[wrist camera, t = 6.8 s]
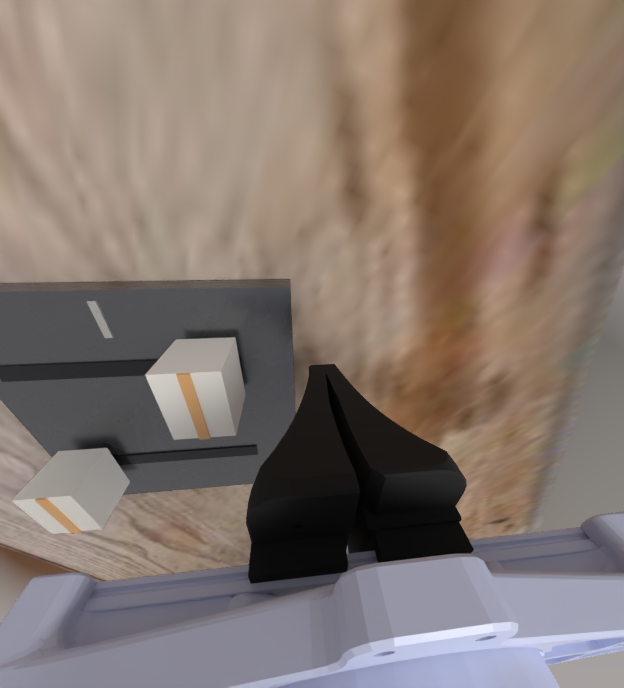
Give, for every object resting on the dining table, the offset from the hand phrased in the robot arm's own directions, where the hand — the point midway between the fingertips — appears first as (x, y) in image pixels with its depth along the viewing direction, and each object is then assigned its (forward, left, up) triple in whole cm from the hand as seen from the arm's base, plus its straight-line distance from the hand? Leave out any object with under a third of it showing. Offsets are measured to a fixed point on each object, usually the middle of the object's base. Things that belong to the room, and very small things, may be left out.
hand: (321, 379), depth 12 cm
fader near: (0, +6, -1) cm, 6 cm away
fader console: (-4, +10, -3) cm, 11 cm away
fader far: (-8, +16, -1) cm, 18 cm away
